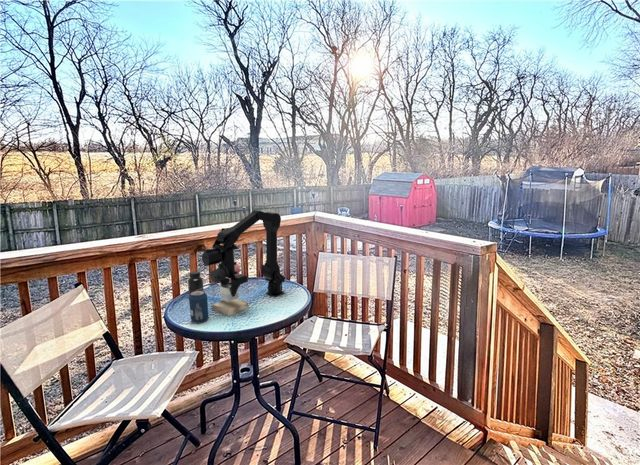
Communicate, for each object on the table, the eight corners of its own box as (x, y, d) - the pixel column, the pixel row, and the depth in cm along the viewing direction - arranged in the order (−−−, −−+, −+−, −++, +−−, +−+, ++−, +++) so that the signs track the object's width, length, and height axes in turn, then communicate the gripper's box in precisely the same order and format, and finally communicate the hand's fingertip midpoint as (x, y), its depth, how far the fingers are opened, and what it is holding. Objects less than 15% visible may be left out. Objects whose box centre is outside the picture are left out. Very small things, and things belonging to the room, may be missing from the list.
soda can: (203, 315, 159) (201, 288, 156) (212, 320, 154) (209, 292, 152) (187, 320, 154) (185, 292, 152) (196, 325, 149) (193, 297, 147)
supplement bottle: (199, 299, 176) (197, 275, 174) (186, 298, 177) (184, 274, 175) (206, 294, 183) (204, 270, 180) (193, 293, 184) (191, 270, 182)
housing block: (232, 295, 168) (231, 282, 167) (238, 297, 165) (238, 284, 164) (221, 299, 163) (220, 286, 162) (228, 301, 160) (227, 288, 159)
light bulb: (227, 289, 189) (226, 266, 187) (225, 284, 196) (223, 262, 193) (242, 287, 192) (240, 264, 189) (239, 282, 198) (237, 260, 196)
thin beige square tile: (232, 302, 173) (232, 296, 172) (248, 307, 166) (248, 302, 166) (212, 309, 164) (212, 304, 164) (228, 316, 158) (228, 310, 157)
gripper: (198, 261, 160) (201, 296, 163) (226, 269, 149) (229, 306, 152) (219, 255, 169) (222, 288, 172) (247, 262, 157) (249, 297, 161)
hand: (229, 295), depth 164 cm, fingers closed on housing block, 5 cm apart
